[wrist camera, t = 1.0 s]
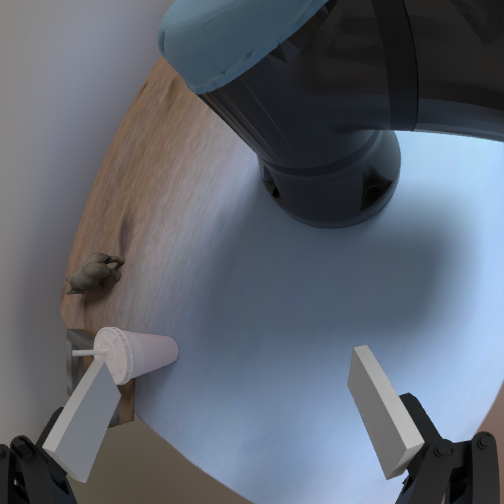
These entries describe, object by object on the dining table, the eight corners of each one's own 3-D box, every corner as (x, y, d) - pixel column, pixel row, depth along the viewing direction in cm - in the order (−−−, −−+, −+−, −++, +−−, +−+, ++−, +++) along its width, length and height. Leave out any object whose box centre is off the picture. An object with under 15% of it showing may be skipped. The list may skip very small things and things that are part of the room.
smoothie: (177, 318, 33) (81, 317, 21) (193, 367, 31) (98, 387, 19) (145, 333, 35) (56, 335, 23) (159, 378, 33) (70, 394, 21)
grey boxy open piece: (93, 329, 41) (67, 328, 36) (136, 350, 36) (106, 353, 31) (91, 390, 39) (67, 394, 35) (133, 420, 34) (106, 428, 29)
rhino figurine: (82, 283, 45) (55, 279, 39) (124, 251, 40) (93, 243, 35) (85, 304, 43) (57, 301, 38) (128, 275, 39) (96, 270, 34)
